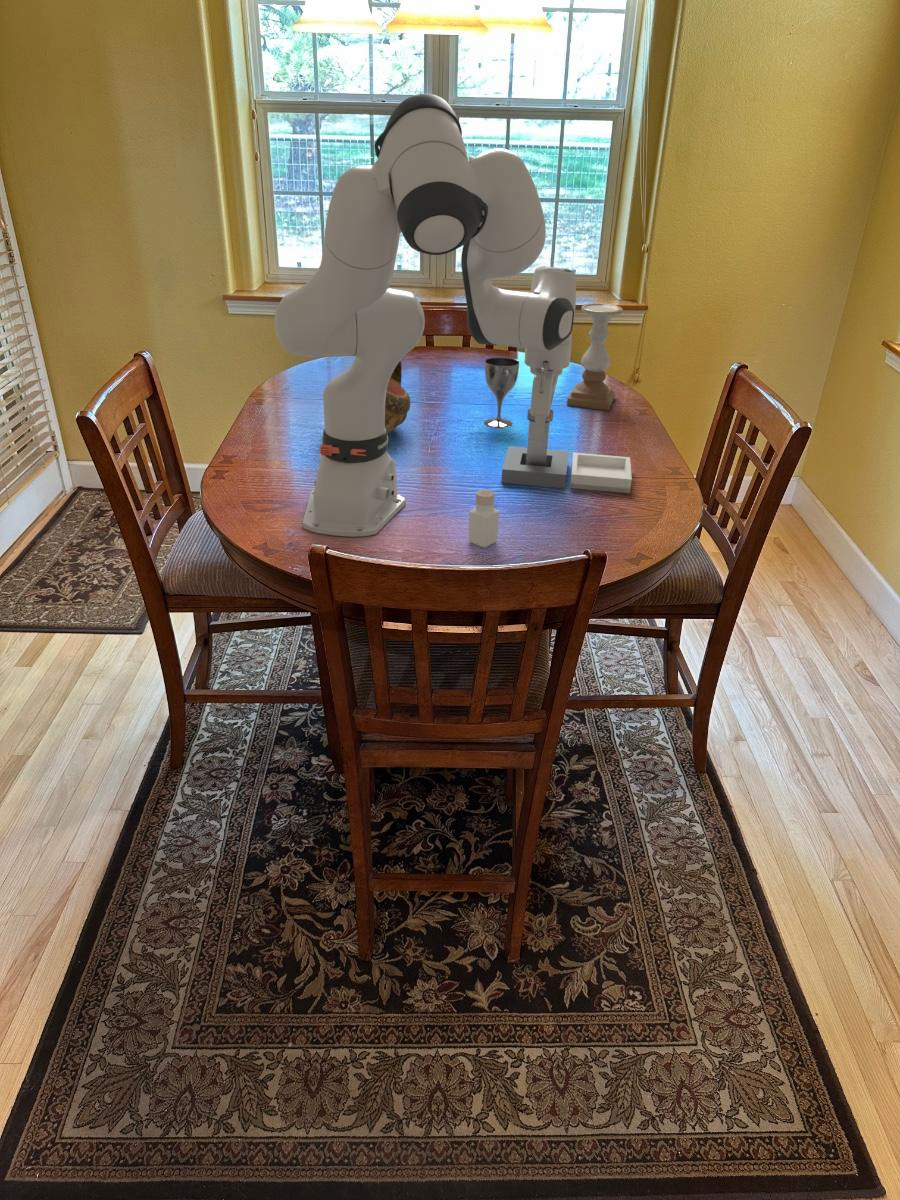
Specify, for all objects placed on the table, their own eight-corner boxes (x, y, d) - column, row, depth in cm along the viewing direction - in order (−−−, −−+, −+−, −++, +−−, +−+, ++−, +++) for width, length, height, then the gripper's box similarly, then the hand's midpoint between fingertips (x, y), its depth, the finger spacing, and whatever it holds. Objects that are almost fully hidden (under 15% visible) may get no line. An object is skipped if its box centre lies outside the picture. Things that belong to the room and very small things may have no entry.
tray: (629, 493, 162) (631, 479, 160) (569, 487, 163) (571, 474, 162) (628, 470, 172) (630, 457, 170) (571, 465, 173) (573, 452, 172)
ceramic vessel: (312, 449, 178) (304, 333, 164) (360, 413, 199) (357, 308, 185) (383, 460, 173) (381, 342, 160) (425, 422, 194) (426, 315, 181)
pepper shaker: (484, 549, 140) (486, 500, 135) (466, 542, 142) (468, 493, 137) (498, 542, 143) (501, 493, 138) (481, 534, 145) (483, 486, 140)
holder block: (564, 488, 163) (566, 474, 161) (501, 482, 165) (502, 469, 163) (567, 464, 174) (568, 451, 172) (507, 459, 176) (508, 446, 174)
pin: (546, 479, 167) (552, 416, 160) (521, 477, 167) (526, 414, 160) (548, 469, 171) (554, 408, 164) (523, 467, 172) (528, 406, 165)
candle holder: (608, 410, 205) (621, 314, 192) (565, 405, 208) (576, 309, 195) (614, 398, 214) (627, 305, 201) (574, 393, 217) (584, 300, 204)
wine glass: (504, 431, 190) (509, 368, 182) (476, 424, 194) (478, 362, 186) (520, 422, 196) (525, 360, 188) (492, 415, 200) (495, 354, 192)
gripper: (560, 371, 146) (553, 443, 154) (567, 342, 163) (560, 408, 171) (525, 369, 147) (520, 440, 155) (536, 340, 164) (530, 406, 172)
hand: (541, 423), depth 163 cm, fingers open, 8 cm apart
